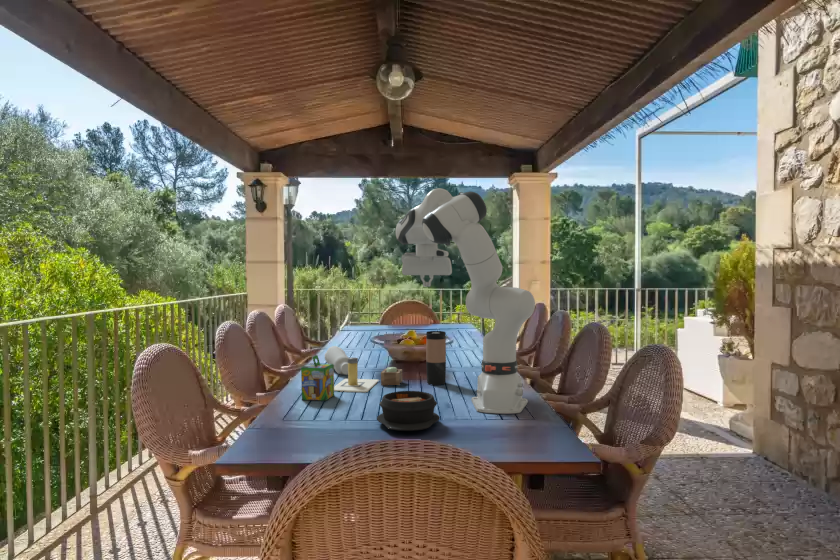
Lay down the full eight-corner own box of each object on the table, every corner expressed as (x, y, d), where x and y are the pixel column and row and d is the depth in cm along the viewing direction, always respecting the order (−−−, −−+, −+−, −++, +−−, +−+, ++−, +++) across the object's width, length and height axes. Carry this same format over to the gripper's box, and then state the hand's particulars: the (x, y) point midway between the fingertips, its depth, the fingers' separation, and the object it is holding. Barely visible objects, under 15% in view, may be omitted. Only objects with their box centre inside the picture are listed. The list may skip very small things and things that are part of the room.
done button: (395, 384, 229) (395, 369, 229) (385, 384, 230) (385, 368, 230) (397, 382, 233) (397, 367, 233) (387, 382, 234) (387, 366, 234)
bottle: (320, 358, 270) (331, 373, 242) (331, 341, 271) (343, 353, 243) (336, 368, 273) (349, 384, 244) (347, 351, 274) (361, 365, 245)
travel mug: (446, 381, 235) (446, 330, 235) (445, 385, 228) (445, 333, 227) (427, 381, 236) (427, 330, 235) (425, 385, 229) (425, 333, 228)
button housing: (399, 385, 228) (398, 372, 227) (381, 385, 229) (380, 372, 229) (402, 381, 235) (402, 369, 234) (384, 381, 236) (384, 368, 235)
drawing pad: (366, 392, 217) (366, 390, 217) (329, 391, 219) (329, 389, 219) (379, 381, 237) (379, 379, 236) (344, 380, 239) (344, 378, 239)
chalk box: (326, 401, 204) (325, 358, 203) (300, 400, 206) (300, 357, 205) (335, 395, 213) (334, 354, 212) (311, 394, 215) (310, 353, 214)
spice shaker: (356, 385, 226) (356, 359, 225) (346, 385, 226) (346, 359, 226) (359, 383, 229) (358, 357, 229) (349, 383, 230) (349, 357, 230)
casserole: (378, 413, 188) (378, 387, 188) (437, 412, 189) (437, 386, 188) (374, 437, 163) (374, 407, 163) (442, 436, 164) (442, 406, 163)
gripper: (400, 252, 240) (400, 286, 241) (450, 252, 237) (450, 286, 237) (402, 252, 246) (403, 286, 247) (452, 252, 243) (452, 286, 244)
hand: (426, 286), depth 242 cm, fingers closed
